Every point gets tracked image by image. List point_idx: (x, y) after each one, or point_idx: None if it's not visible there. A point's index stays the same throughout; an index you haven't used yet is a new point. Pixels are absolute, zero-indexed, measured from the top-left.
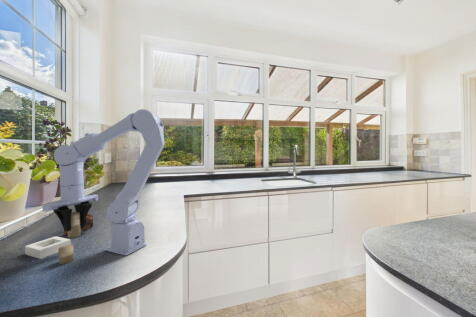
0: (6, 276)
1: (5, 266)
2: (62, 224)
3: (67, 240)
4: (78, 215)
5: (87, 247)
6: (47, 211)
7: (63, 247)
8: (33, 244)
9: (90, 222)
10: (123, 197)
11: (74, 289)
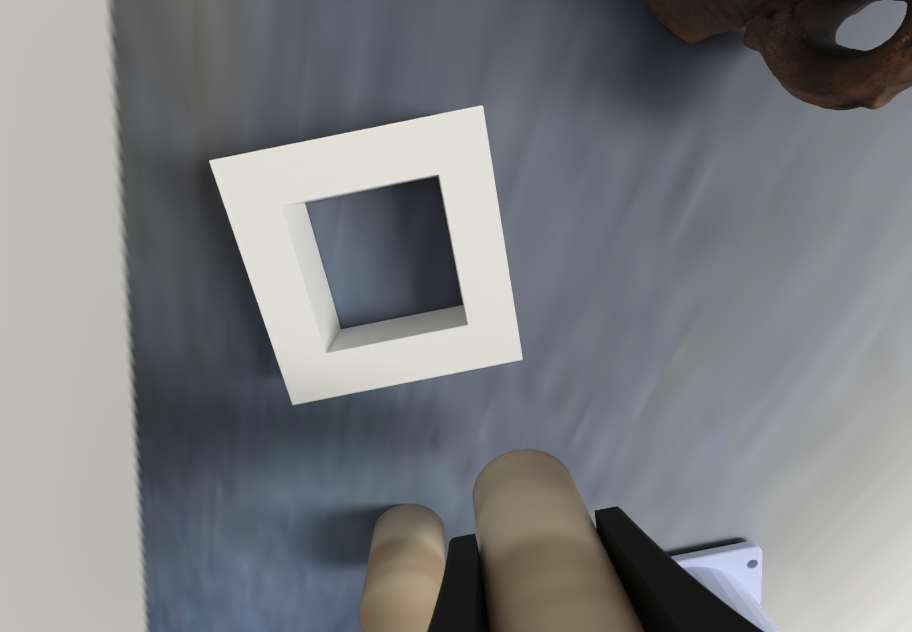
0: (145, 471)
1: (132, 307)
2: (440, 604)
3: (497, 357)
4: None
5: (570, 434)
6: None
7: (390, 609)
8: (274, 186)
9: (882, 104)
10: None
11: None
